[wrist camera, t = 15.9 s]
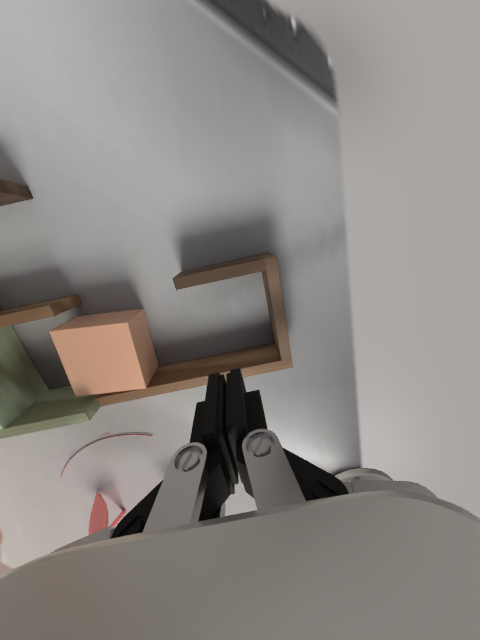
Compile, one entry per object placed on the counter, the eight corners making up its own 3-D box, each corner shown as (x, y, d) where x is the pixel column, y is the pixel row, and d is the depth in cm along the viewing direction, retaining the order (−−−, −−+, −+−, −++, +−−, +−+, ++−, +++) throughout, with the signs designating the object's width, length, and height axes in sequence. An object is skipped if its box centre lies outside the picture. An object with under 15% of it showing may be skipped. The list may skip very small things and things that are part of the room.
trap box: (284, 349, 28) (298, 378, 22) (44, 398, 28) (-1, 439, 23) (249, 134, 20) (257, 95, 15) (-69, 208, 21) (-177, 198, 16)
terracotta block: (158, 364, 28) (146, 388, 24) (99, 371, 28) (75, 396, 24) (144, 307, 25) (127, 322, 21) (79, 315, 25) (48, 331, 21)
